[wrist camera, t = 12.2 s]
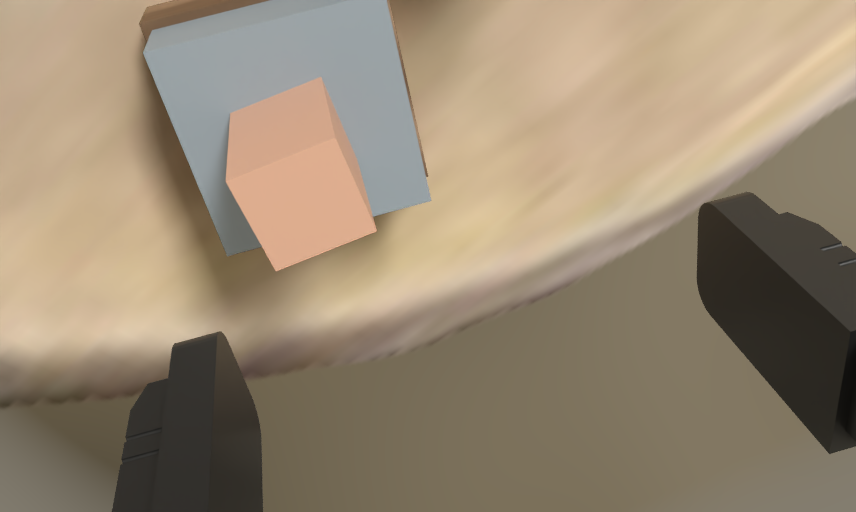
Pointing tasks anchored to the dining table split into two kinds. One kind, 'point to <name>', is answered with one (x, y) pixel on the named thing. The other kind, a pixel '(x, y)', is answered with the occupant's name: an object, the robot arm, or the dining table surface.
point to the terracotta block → (297, 175)
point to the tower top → (280, 71)
